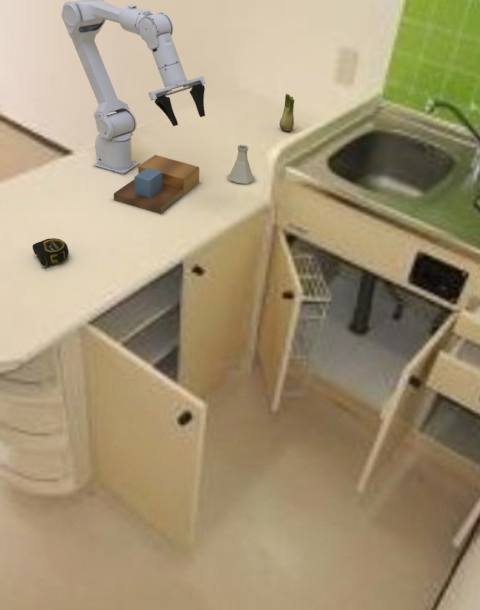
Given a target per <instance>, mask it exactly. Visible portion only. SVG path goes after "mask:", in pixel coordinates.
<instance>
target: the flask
mask: <svg viewBox="0 0 480 610" xmlns="http://www.w3.org/2000/svg"><path fill="white" fill-rule="evenodd" d="M248 150H249V146H248V145H247V144H238V145H237V157H236V160H235V161H234V164H233V166H232V169H231V170H230V173H229V175H228V178H229V181H230V182H233V183H236V184H243V185H244V184H246V185H248V184H249V183H252V182H253V181H254V176H253V172H252V170H251V166H250V163H249V159H248Z"/></svg>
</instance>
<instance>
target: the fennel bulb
mask: <svg viewBox="0 0 480 610" xmlns="http://www.w3.org/2000/svg"><path fill="white" fill-rule="evenodd" d="M294 107H295V99H294V97H293V96H291V94H289V93H285V96H284V107H283V111H282V115H281V118H280V120H279V127H280V129H281V130H283V131H285V132H290V131H291V130H293V129H294V125H295V117H294V110H295V109H294Z"/></svg>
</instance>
